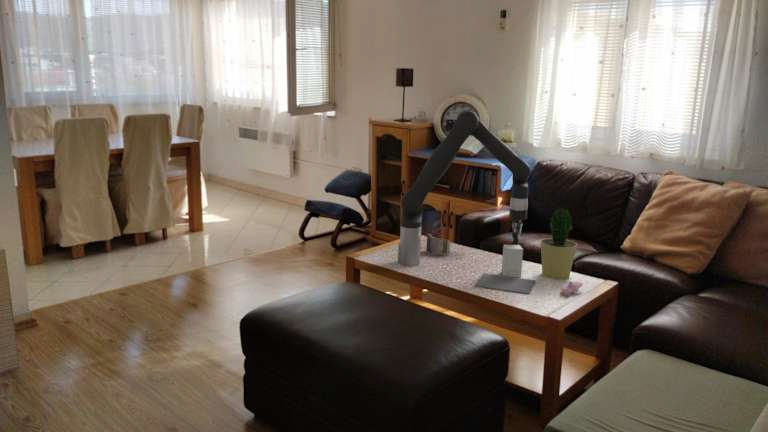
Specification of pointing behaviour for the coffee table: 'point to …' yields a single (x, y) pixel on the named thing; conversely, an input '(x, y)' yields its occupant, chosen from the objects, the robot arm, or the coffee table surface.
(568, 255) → the potted cactus
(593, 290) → the coffee table surface
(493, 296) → the coffee table surface
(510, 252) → the supplement box
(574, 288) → the pink unicorn figurine
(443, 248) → the grey upright block
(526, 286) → the mat
